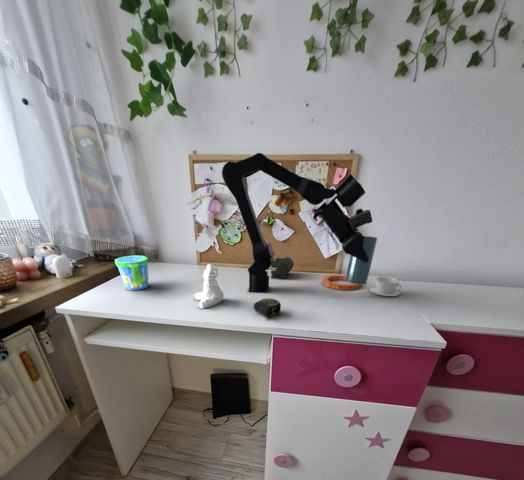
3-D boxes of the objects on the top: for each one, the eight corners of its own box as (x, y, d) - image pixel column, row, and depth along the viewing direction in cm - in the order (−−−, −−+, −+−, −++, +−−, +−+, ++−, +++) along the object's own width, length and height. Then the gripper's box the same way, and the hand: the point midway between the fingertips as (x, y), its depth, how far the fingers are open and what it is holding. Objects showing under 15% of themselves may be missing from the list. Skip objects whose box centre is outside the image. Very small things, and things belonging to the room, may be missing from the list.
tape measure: (252, 312, 81) (252, 300, 79) (271, 307, 84) (271, 296, 82) (265, 320, 76) (266, 308, 74) (285, 315, 79) (285, 303, 77)
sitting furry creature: (194, 298, 90) (189, 261, 84) (219, 295, 93) (217, 259, 87) (200, 309, 83) (196, 269, 76) (228, 305, 86) (225, 266, 79)
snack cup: (155, 292, 95) (148, 262, 90) (122, 296, 92) (113, 265, 86) (151, 279, 107) (146, 253, 102) (122, 282, 104) (115, 255, 98)
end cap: (287, 280, 108) (288, 262, 105) (270, 278, 110) (271, 261, 107) (293, 273, 116) (294, 257, 113) (277, 272, 118) (277, 256, 115)
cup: (352, 283, 87) (362, 236, 81) (341, 279, 93) (350, 235, 87) (370, 284, 88) (382, 238, 82) (359, 279, 94) (369, 236, 88)
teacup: (365, 292, 97) (367, 279, 94) (376, 286, 103) (379, 273, 101) (393, 299, 91) (397, 286, 88) (403, 292, 97) (407, 279, 95)
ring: (325, 289, 100) (325, 284, 99) (321, 278, 111) (322, 274, 110) (363, 290, 99) (363, 286, 98) (355, 279, 110) (356, 275, 109)
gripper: (363, 200, 71) (396, 246, 76) (355, 197, 87) (382, 236, 91) (328, 231, 77) (361, 273, 81) (326, 223, 92) (354, 258, 97)
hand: (365, 258), depth 87 cm, fingers closed on cup, 7 cm apart
